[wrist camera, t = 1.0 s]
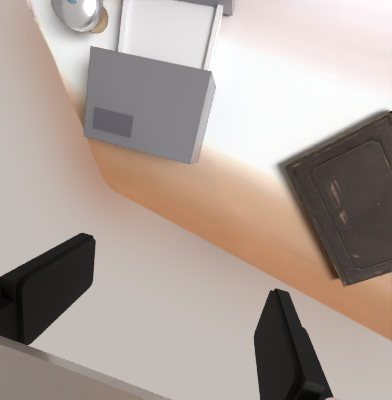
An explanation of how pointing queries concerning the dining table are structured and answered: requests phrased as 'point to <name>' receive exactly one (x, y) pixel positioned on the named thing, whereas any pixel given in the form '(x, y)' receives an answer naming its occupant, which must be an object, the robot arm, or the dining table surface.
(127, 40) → the tray
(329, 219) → the hardcover book
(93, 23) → the disc
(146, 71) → the housing
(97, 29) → the stand
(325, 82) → the dining table surface
